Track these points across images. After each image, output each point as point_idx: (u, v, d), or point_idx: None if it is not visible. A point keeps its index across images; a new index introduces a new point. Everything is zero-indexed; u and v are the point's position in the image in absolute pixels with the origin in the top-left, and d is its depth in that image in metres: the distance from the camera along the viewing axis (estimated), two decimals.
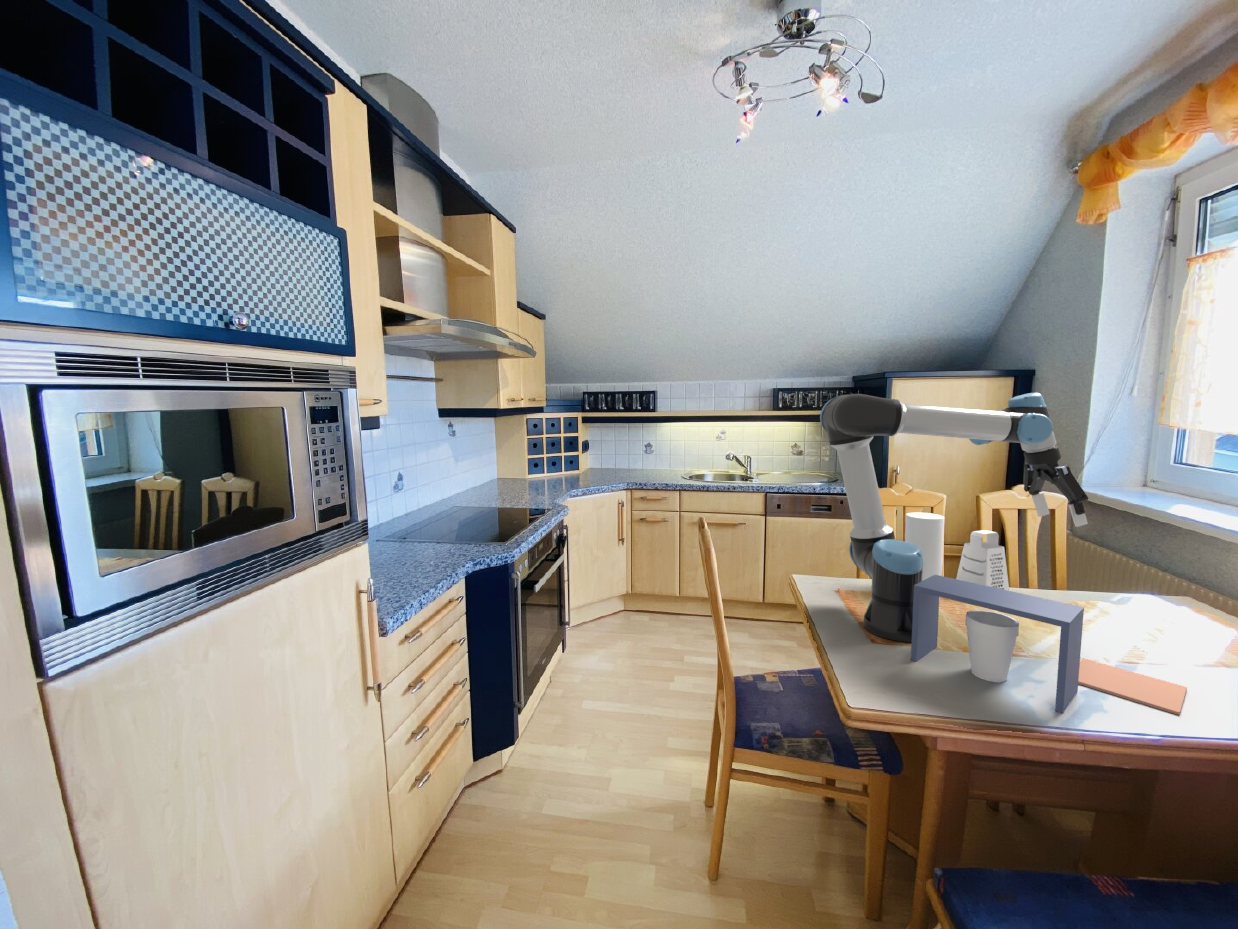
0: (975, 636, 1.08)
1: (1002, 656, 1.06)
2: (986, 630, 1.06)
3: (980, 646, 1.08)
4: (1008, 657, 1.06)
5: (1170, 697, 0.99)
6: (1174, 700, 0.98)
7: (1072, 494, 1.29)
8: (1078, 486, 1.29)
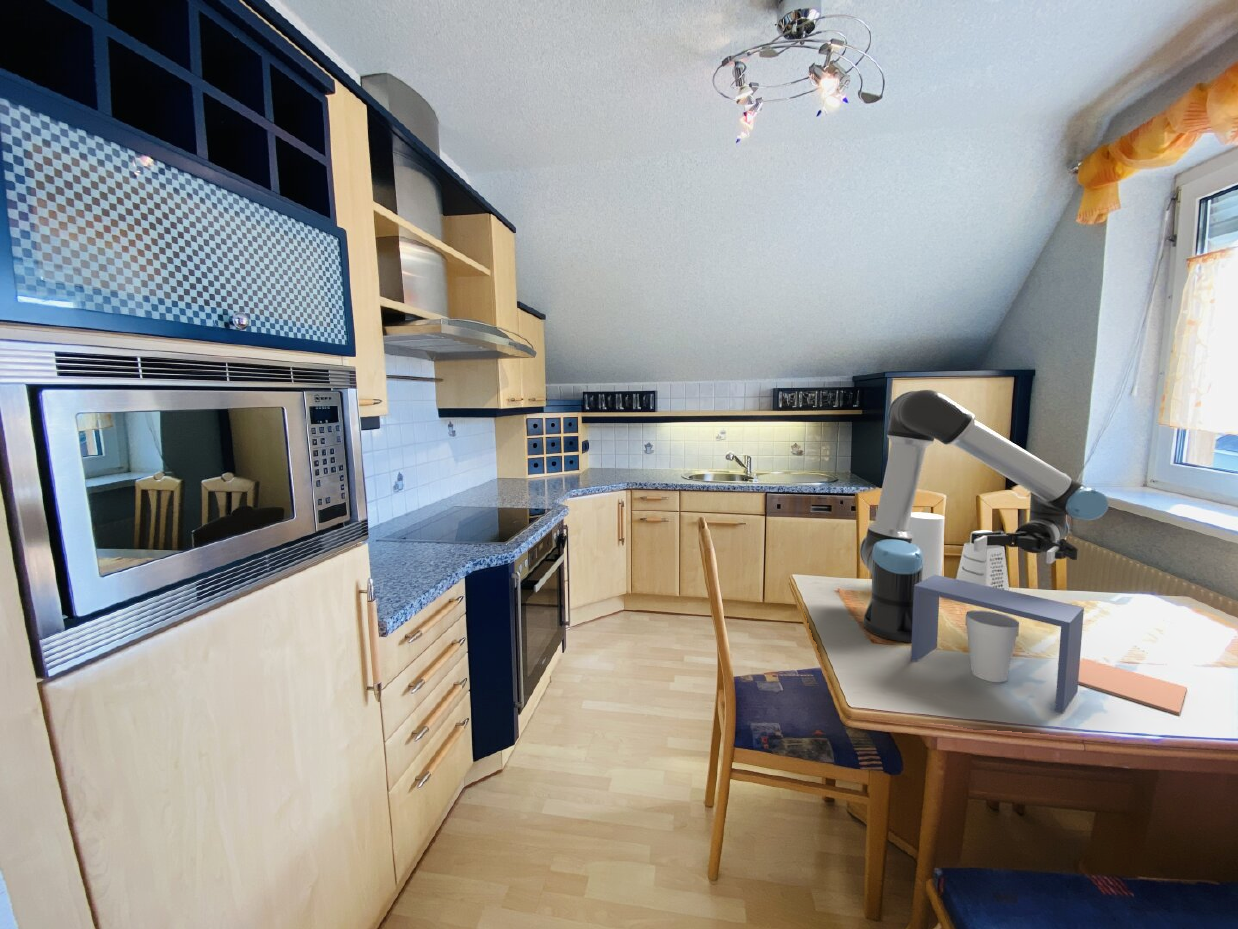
0: (975, 636, 1.08)
1: (1002, 656, 1.06)
2: (986, 630, 1.06)
3: (980, 646, 1.08)
4: (1008, 657, 1.06)
5: (1170, 697, 0.99)
6: (1174, 700, 0.98)
7: (1071, 546, 1.13)
8: None
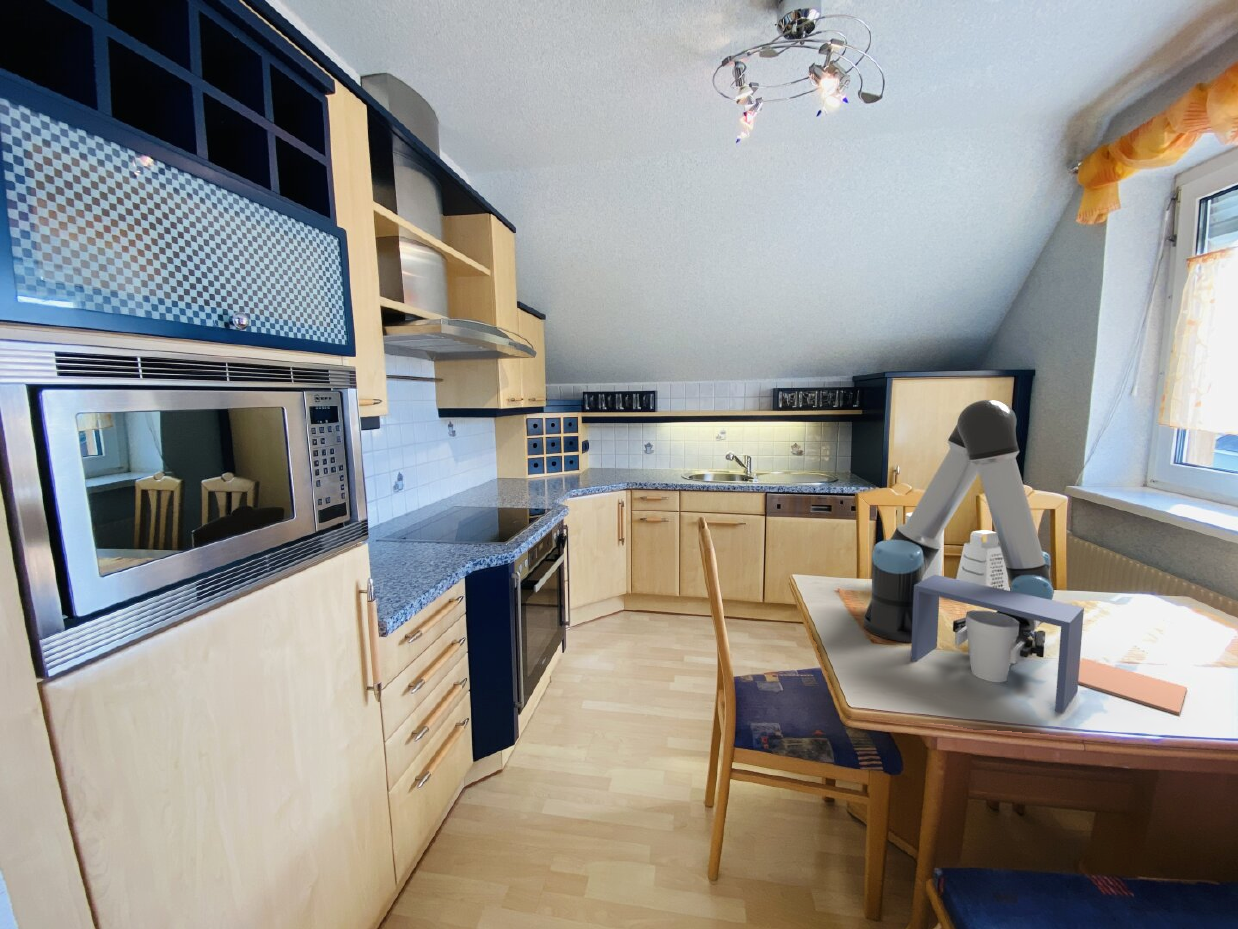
0: (975, 636, 1.08)
1: (1002, 656, 1.06)
2: (986, 630, 1.06)
3: (980, 646, 1.08)
4: (1008, 657, 1.06)
5: (1170, 697, 0.99)
6: (1174, 700, 0.98)
7: (1040, 642, 1.07)
8: None
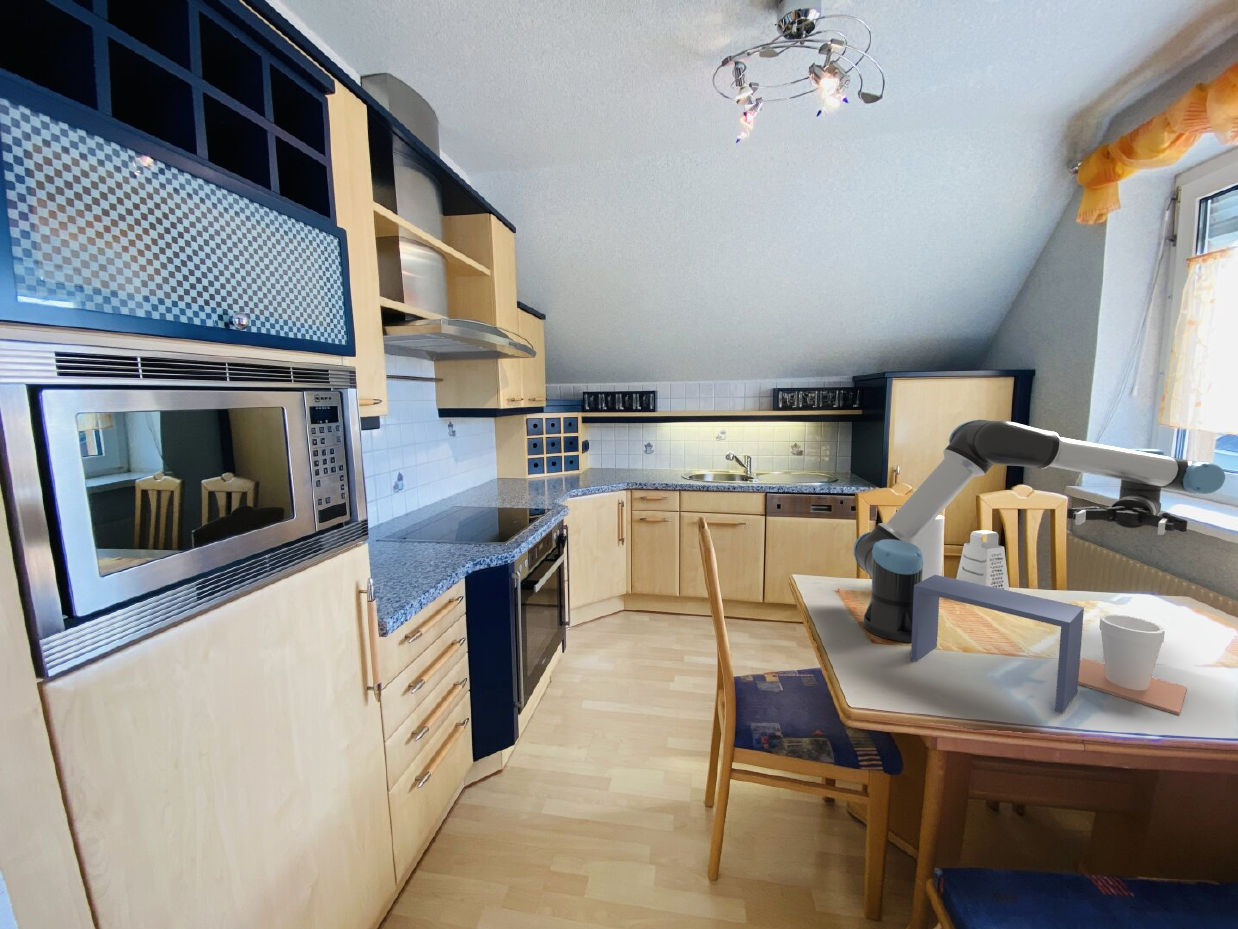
0: (1114, 642, 1.03)
1: (1146, 663, 1.01)
2: (1129, 636, 1.01)
3: (1121, 652, 1.02)
4: (1152, 664, 1.01)
5: (1170, 697, 0.99)
6: (1174, 700, 0.98)
7: (1179, 519, 1.13)
8: None
